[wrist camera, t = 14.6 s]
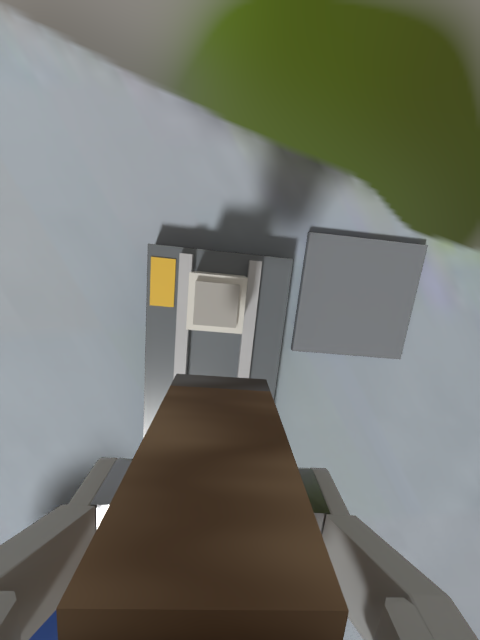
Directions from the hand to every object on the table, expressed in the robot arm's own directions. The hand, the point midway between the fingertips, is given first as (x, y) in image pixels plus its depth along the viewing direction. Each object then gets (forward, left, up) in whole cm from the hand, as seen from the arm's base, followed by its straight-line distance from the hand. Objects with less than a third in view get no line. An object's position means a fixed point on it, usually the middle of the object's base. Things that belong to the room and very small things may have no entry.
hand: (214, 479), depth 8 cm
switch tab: (+1, -4, -15) cm, 15 cm away
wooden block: (0, 0, -4) cm, 4 cm away
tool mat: (-12, -5, -17) cm, 21 cm away
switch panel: (+1, +3, -17) cm, 17 cm away
